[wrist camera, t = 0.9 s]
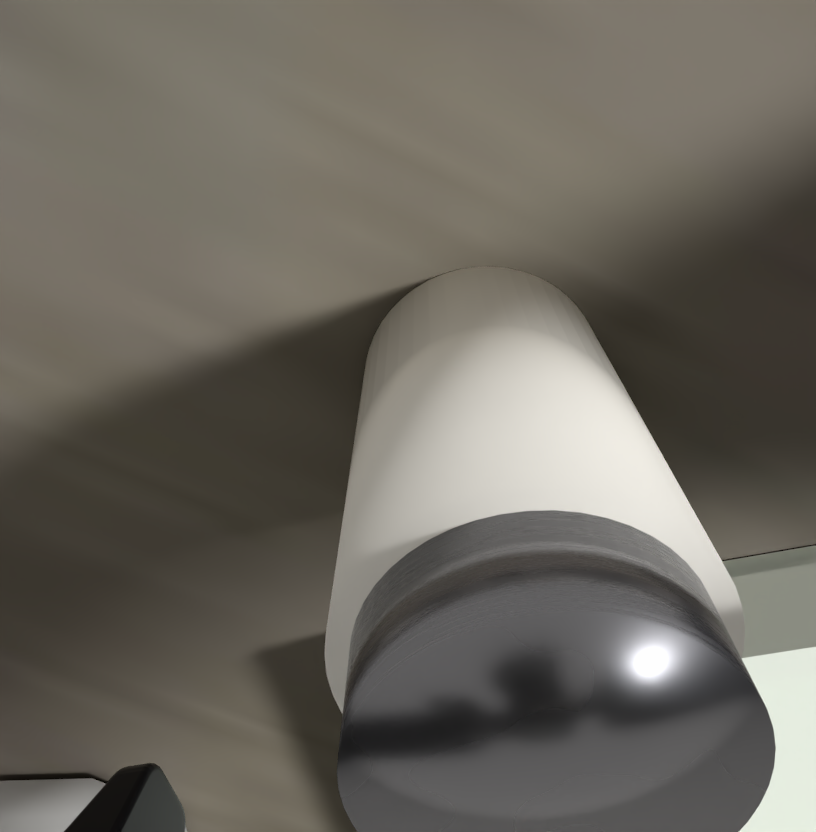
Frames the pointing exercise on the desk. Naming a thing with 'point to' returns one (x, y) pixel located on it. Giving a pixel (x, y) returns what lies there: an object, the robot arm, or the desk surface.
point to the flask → (44, 803)
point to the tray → (783, 677)
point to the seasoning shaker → (528, 590)
